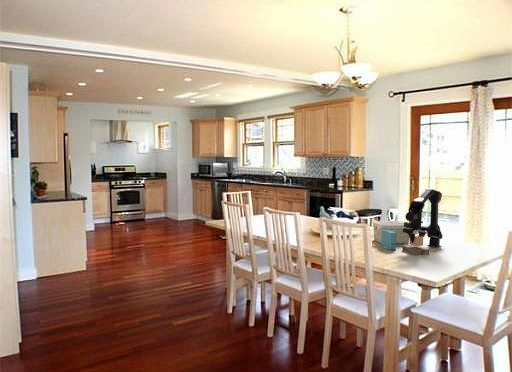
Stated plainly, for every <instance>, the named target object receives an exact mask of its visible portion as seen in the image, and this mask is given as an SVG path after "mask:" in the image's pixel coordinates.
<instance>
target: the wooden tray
mask: <svg viewBox="0 0 512 372" xmlns="http://www.w3.org/2000/svg"><path fill="white" fill-rule="evenodd" d="M402 252H404V253H408V254H410V255H413V256H416V257H419V255H421V256H428V255H430V248H427V247H424V246H413V245H410V244H407V245H404V244H403V245H402Z"/></svg>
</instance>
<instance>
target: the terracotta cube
mask: <svg viewBox="0 0 512 372" xmlns="http://www.w3.org/2000/svg"><path fill="white" fill-rule="evenodd" d="M408 245H413V246H421V247H424V237H423V236H419V234H415V238H414V242H413V243H411V240H410V238H409V243H408Z"/></svg>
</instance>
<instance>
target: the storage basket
mask: <svg viewBox="0 0 512 372" xmlns="http://www.w3.org/2000/svg"><path fill="white" fill-rule="evenodd" d="M404 222H405V221H402V220H374V221H372V225H373V241H376V242H377V243H379V244H381V237H382V230H390V231H393V232H396V234H397V244H398V245H399V244H409V238H410V237H409V235H408V234H407V233H404V232H403V228H406V227H404ZM397 244H396V245H397Z"/></svg>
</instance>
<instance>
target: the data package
mask: <svg viewBox="0 0 512 372" xmlns="http://www.w3.org/2000/svg"><path fill="white" fill-rule="evenodd" d="M380 245H381V247H382V248H384V249H387V250H389V251H391V250H393V251H394V250H397V234H396V232H393V231H390V230H382V237H381V243H380Z"/></svg>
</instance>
